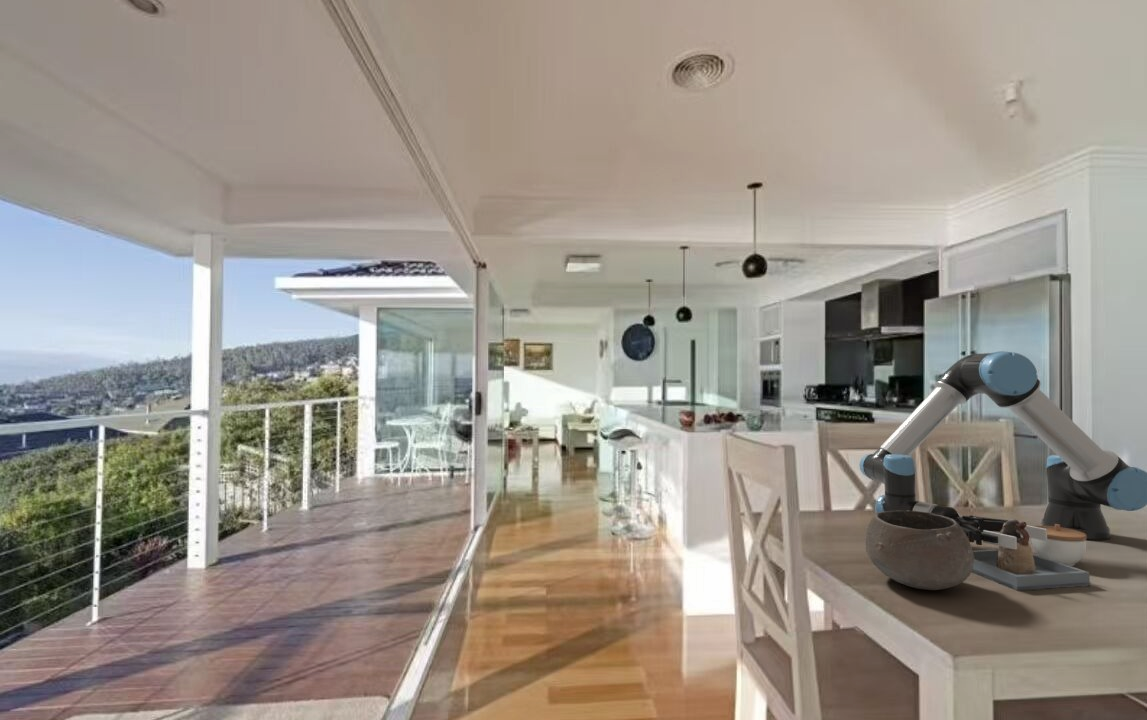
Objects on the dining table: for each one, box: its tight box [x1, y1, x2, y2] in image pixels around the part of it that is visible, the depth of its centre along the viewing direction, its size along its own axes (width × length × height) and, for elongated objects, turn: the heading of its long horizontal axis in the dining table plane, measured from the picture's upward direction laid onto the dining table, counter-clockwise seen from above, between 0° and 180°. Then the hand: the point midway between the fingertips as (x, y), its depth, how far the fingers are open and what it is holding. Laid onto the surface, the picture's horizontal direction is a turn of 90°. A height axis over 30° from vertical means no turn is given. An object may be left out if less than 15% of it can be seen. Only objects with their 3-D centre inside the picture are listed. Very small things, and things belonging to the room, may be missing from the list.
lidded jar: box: [1030, 524, 1088, 567], centre depth 140 cm, size 11×11×9 cm
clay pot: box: [864, 511, 974, 591], centre depth 126 cm, size 21×21×15 cm
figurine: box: [997, 518, 1036, 575], centre depth 132 cm, size 7×7×12 cm
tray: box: [971, 548, 1091, 592], centre depth 132 cm, size 18×18×3 cm
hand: (1031, 539), depth 129 cm, fingers open, 13 cm apart
